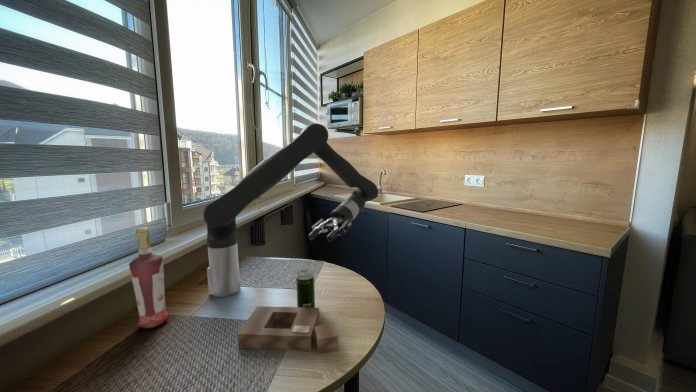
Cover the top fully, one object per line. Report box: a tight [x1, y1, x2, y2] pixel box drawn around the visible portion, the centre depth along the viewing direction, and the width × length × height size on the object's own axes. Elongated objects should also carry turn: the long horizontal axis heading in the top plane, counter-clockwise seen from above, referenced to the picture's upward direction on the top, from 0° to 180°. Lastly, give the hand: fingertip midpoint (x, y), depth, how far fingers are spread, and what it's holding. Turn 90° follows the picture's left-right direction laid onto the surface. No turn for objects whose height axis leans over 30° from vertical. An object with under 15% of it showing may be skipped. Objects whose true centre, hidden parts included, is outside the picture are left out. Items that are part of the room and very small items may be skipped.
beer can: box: [295, 268, 316, 308], centre depth 79 cm, size 5×5×12 cm
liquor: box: [128, 226, 169, 330], centre depth 72 cm, size 7×7×28 cm
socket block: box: [237, 305, 320, 352], centre depth 69 cm, size 18×12×4 cm, turn 87°
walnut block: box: [314, 323, 339, 355], centre depth 64 cm, size 5×5×4 cm
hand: (318, 238), depth 85 cm, fingers open, 8 cm apart
